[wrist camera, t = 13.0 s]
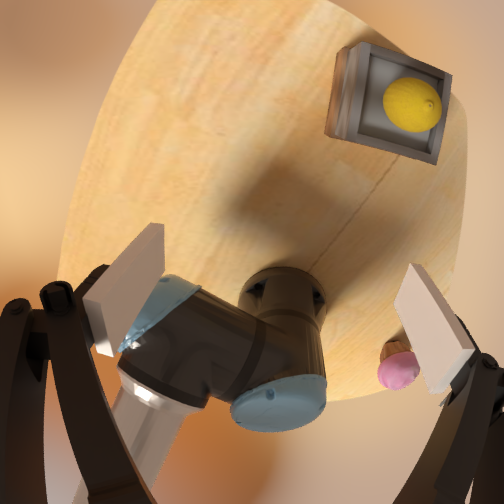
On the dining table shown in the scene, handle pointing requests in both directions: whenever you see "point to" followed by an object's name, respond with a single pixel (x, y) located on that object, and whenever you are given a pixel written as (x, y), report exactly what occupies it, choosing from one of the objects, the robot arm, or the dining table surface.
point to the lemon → (412, 104)
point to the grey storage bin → (381, 101)
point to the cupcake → (397, 366)
